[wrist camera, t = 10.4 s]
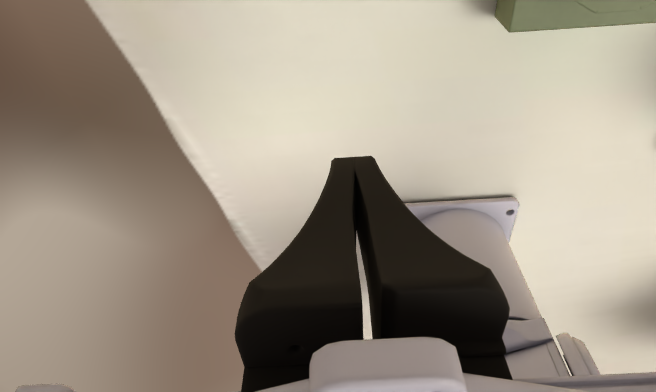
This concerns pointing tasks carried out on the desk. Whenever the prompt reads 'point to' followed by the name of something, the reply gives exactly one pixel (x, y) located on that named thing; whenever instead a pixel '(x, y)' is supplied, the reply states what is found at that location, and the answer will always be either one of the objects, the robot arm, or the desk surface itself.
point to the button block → (572, 13)
